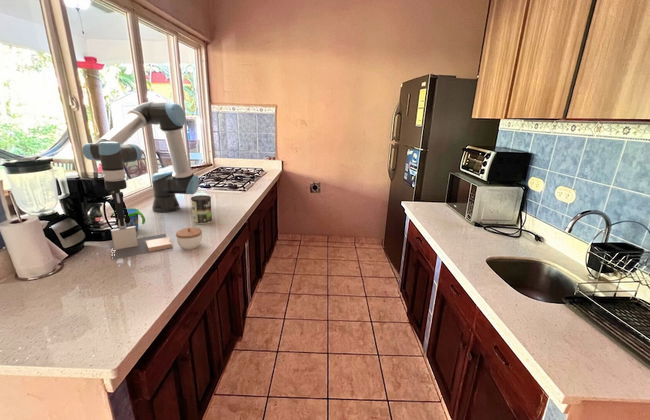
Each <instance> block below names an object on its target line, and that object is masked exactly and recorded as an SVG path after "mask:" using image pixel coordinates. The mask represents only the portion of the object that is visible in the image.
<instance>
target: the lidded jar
mask: <svg viewBox="0 0 650 420" xmlns="http://www.w3.org/2000/svg"><path fill="white" fill-rule="evenodd" d="M175 236H176V242H177V244H178V246H179V247H180V248H182V249H184V250H193V249H196V248H198V247H199V246H200V245H201V244H202V241H203V230H202V229H201V228H199V227H185V228H182V229H179V230H177V231H176V232H175Z"/></svg>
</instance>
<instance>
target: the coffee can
mask: <svg viewBox="0 0 650 420" xmlns="http://www.w3.org/2000/svg"><path fill="white" fill-rule="evenodd" d="M190 201H191V202H190V203H191V211H192V212H191V213H192V223H193V224H195V225H207V224H210V223H212V222H213V211H212V196H210V195H205V194H201V195H194V196H192V197H190Z"/></svg>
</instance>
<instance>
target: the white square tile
mask: <svg viewBox="0 0 650 420" xmlns="http://www.w3.org/2000/svg"><path fill="white" fill-rule="evenodd" d="M110 233H111V239H112V243H113V246H114V250H119V249H125V248H130V247H136V246H138V240H137V238H138V235H137V230H136V227H135V226H132V227H125V228H119V227H118V228H113V229H112V228H111V229H110Z"/></svg>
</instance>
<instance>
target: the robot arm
mask: <svg viewBox="0 0 650 420" xmlns="http://www.w3.org/2000/svg"><path fill="white" fill-rule="evenodd" d="M185 123H186V114H185V111H184V109H183V107H182V106H181V105H180V104H178V103H176V102H170V101H169V102H168V101H167V102H166V101H165V102H164V101H146V102H143V103H141V104H138V105H136V106H135V107H133V108H132V109H130V110H129V111H128V112H127V114H126V116H125V117H124V118H123V119H122V120H121V121H119V122H118V123H117V124H116V125H115V126H114V127H113V128H111V129H110V130H109V131H107V132H106V133H105V134H104V135H102V137H101V138H99V139H98V140H97V141H96V142H88V143H85V144H83V147H82V150H81V151H82V155H83V156H84V158H85V159H87V160H89V161H96V162H97V161H98V162H100V163H101V170H102V172H100V175H102V176H103V179H104V188H105V190H107V191H113V192H111V193H110V194H111V197H112V200H113V204H114V205H115V212H116V211H117V213H116V214H117V218H116V217H115V220H116V221H117V219H118V222H117V224H118V228H125V227H126V222H125V217H126V215H124V210H123V209H124V203H125V202H124V192H123V191H121V190H125V189H126V188H127V187H128V186H127V180H126V172H125V166H124V164H126V163H131V162H137V161H140V160H141V158H142V156H143V152H142V148H141V147H140V146H139V145H137V144H133V143H132V144H131V143H128V144H125V143H126V141H128V140H129V139H131V137H132V136H133V135H134V134H135V133H136V132H137V131H139V130H140V129H143V128H145V127H146V126H149V125H156V126H157V125H158V126H159V130H160V131H161V132H163V134H164V137H165V138H164V139H165V141H166V145H167V149H168V153H169V156H170V161H171V165H172V168H173V171H171V170H170V171H162V172H161V171H160V172H156V173H153V174H151V175H152V176H151V182H152V190H153V196H154V198H153V202H152V207H151V208H152V211H153V212H156V213H171V212H174V211H177V210H179V209H180V206H181V205H180V202H179V201H178V199H177V197H176V194H177V195H195V194H196V193H197V192H198V190H199V187H200V178H199V176H198V175H195V173H194V171H193V170H192V169H190V165H189V160H188V155H187V152H186V147H185V143H184V139H183V133H182V130H183V128H184V125H185Z"/></svg>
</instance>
